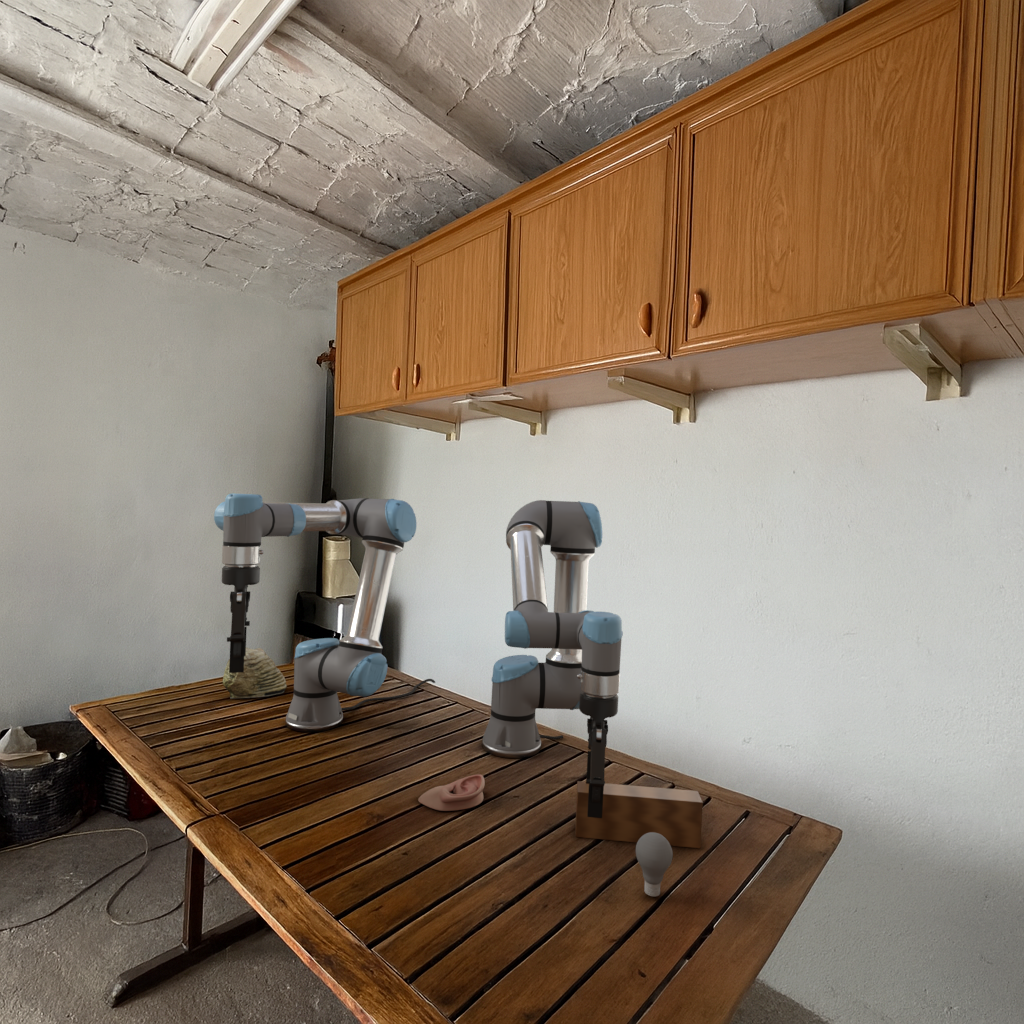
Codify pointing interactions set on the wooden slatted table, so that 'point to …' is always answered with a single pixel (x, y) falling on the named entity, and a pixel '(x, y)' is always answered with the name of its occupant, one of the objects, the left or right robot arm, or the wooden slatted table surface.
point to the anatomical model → (455, 794)
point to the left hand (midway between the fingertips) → (237, 663)
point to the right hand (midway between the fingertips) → (593, 799)
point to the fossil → (255, 677)
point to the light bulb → (653, 860)
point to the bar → (642, 814)
